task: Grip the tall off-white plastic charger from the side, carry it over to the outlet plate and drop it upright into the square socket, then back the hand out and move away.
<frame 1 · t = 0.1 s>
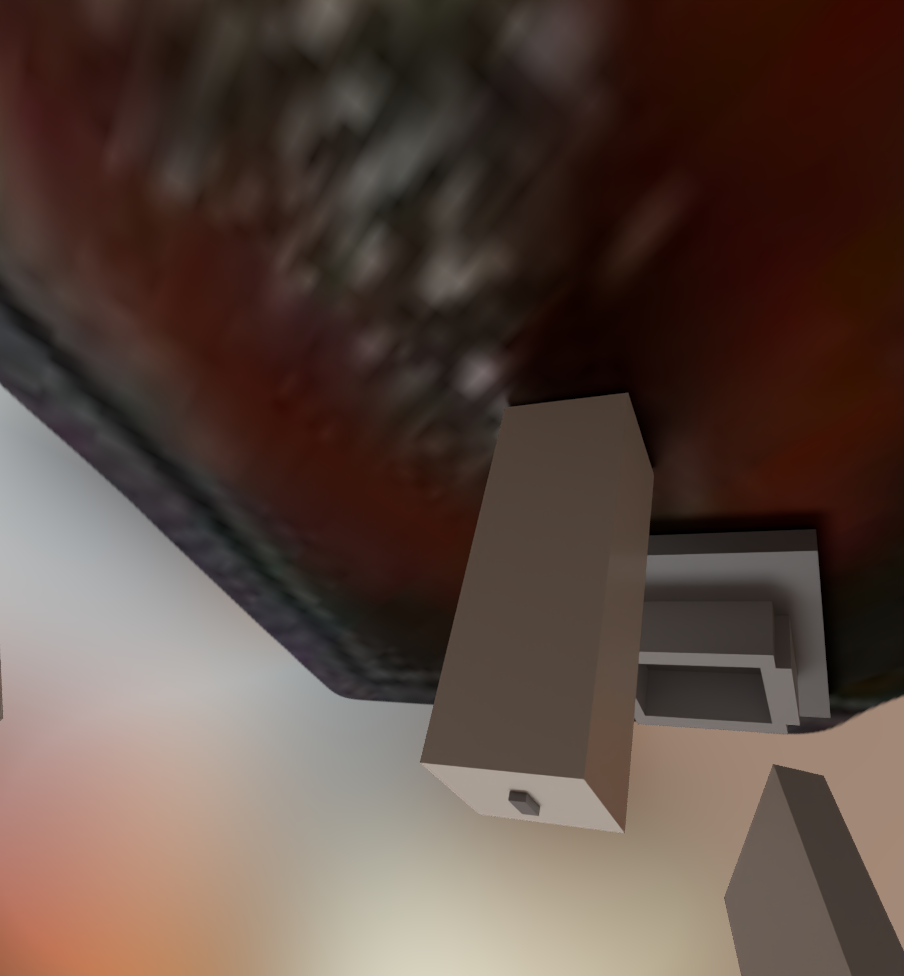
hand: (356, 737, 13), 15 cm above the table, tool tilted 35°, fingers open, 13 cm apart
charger: (581, 441, 28), on the table
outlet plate: (699, 626, 37), on the table
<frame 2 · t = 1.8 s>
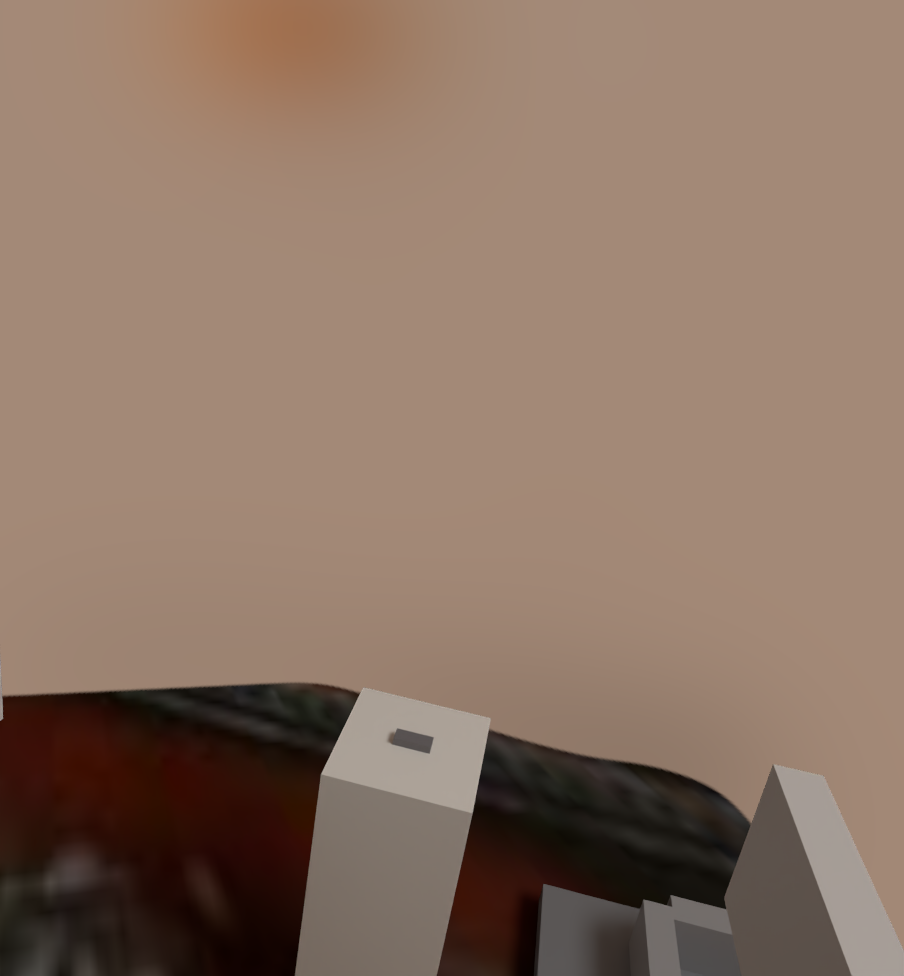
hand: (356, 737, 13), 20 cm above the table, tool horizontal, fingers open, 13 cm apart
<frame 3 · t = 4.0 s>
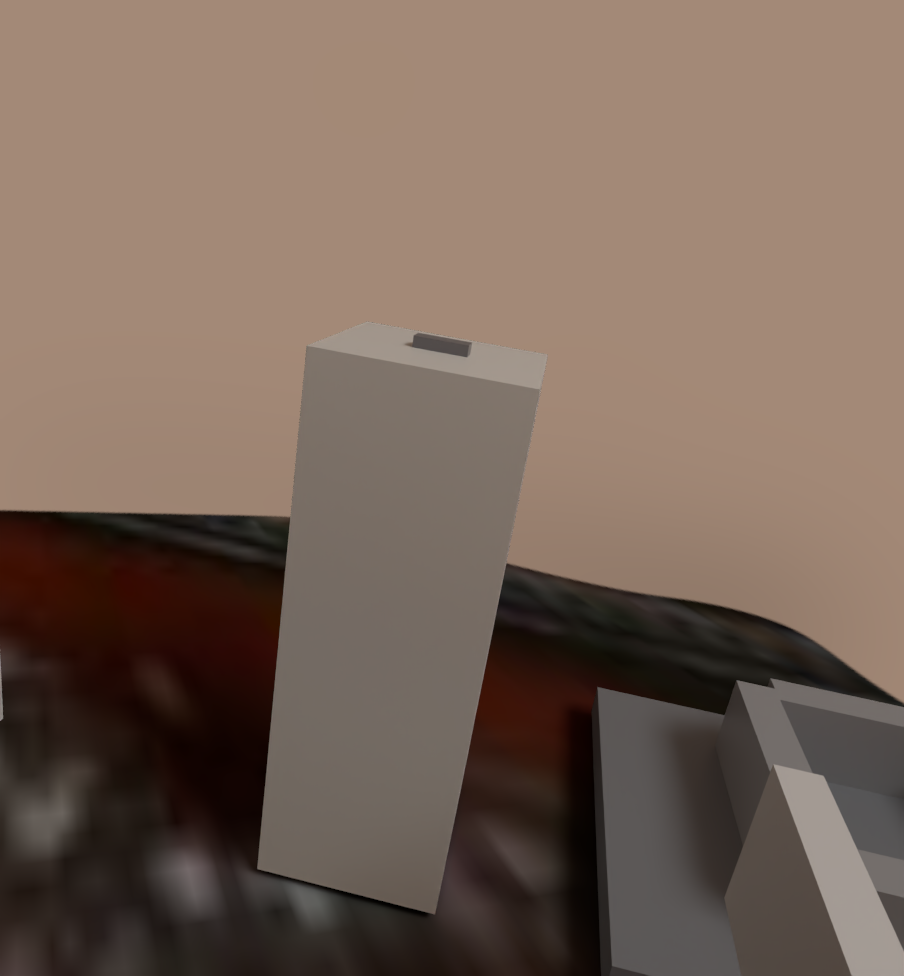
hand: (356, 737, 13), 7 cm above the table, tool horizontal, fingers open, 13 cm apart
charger: (368, 824, 21), on the table
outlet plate: (878, 888, 21), on the table
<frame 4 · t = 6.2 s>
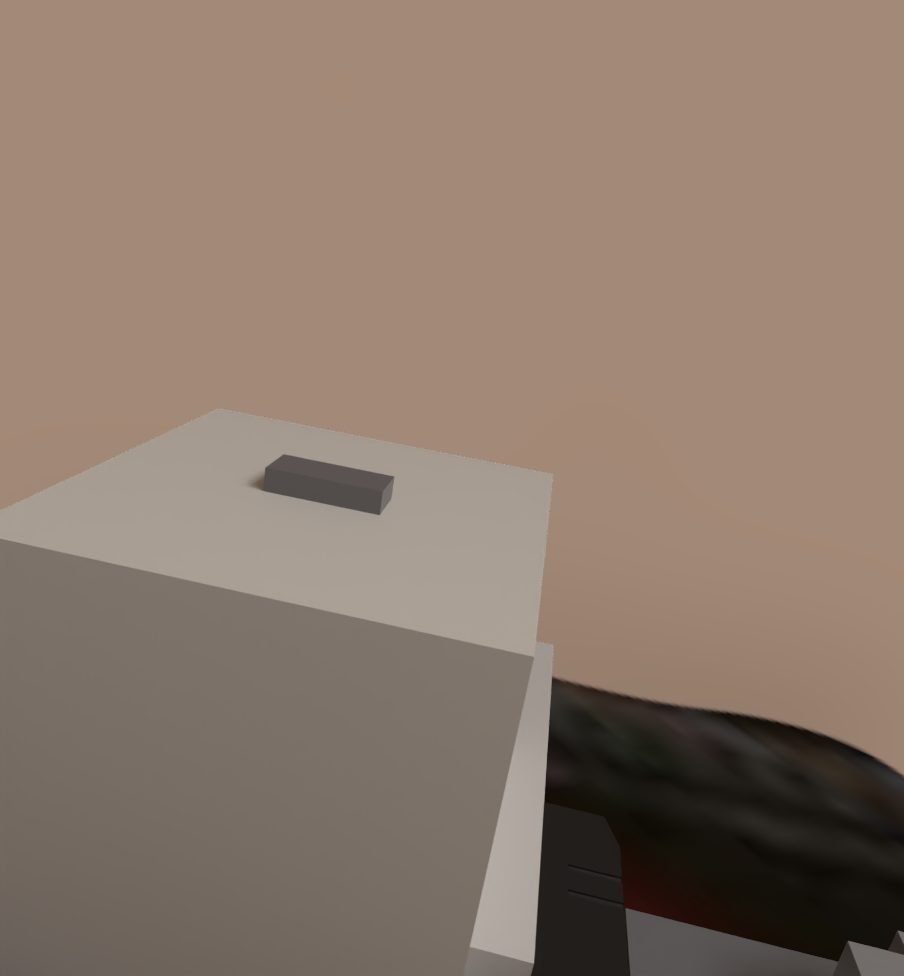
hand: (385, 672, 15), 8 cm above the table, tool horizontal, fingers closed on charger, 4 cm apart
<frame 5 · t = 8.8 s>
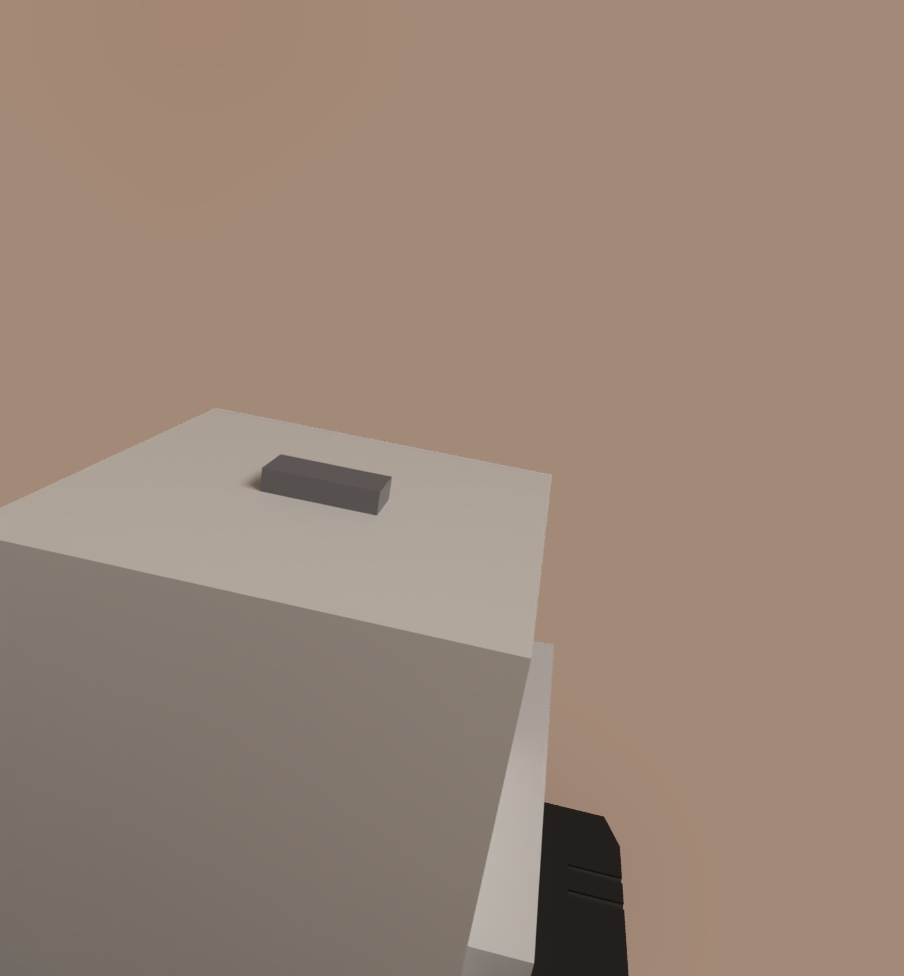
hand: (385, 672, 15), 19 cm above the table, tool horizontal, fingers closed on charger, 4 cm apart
when the fingers open (10 cm above the table, at t = 11.3 s): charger drops 1 cm, resting on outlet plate.
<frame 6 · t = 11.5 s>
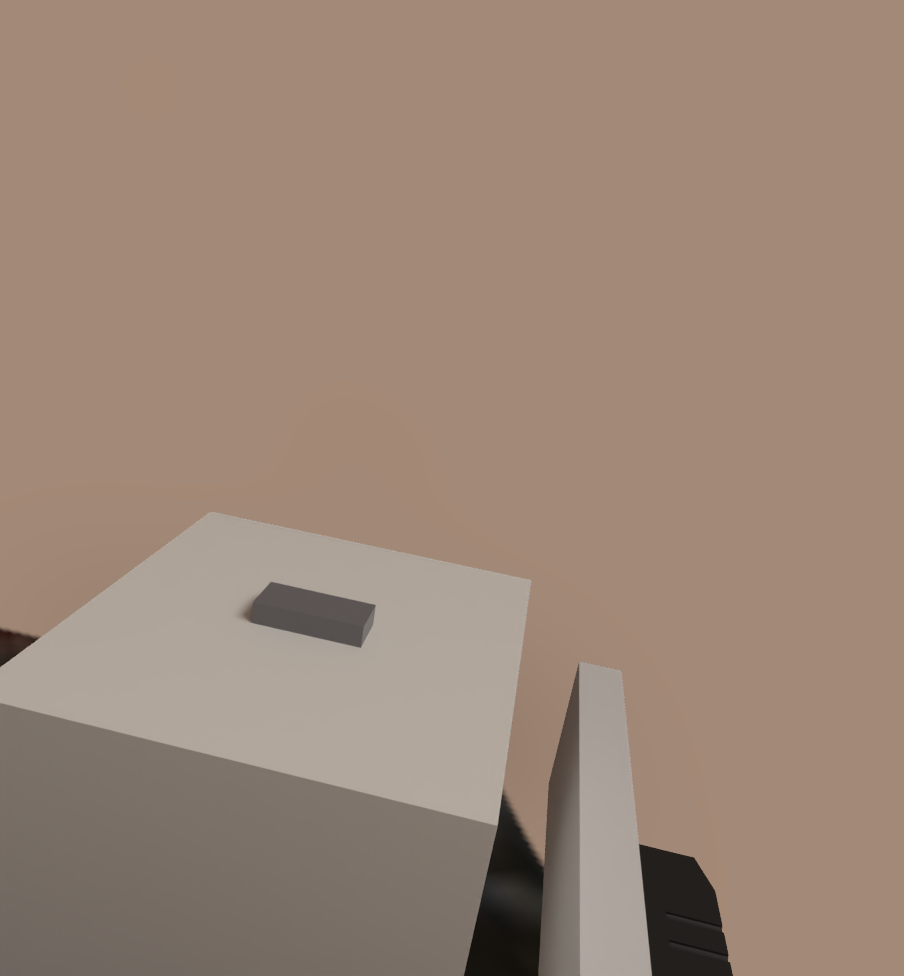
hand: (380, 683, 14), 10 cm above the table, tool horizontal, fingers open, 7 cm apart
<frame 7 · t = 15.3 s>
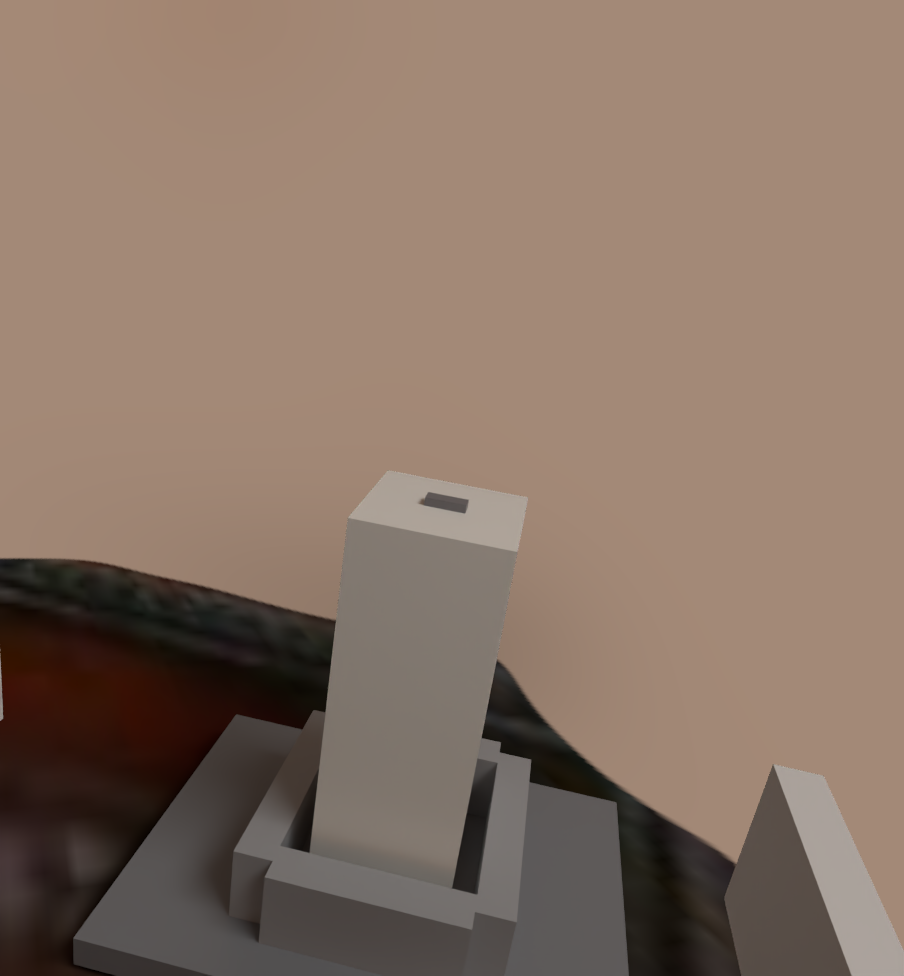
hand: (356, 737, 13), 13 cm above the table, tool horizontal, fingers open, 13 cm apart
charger: (389, 860, 26), point 1 cm above the table, touching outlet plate
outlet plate: (386, 881, 26), on the table
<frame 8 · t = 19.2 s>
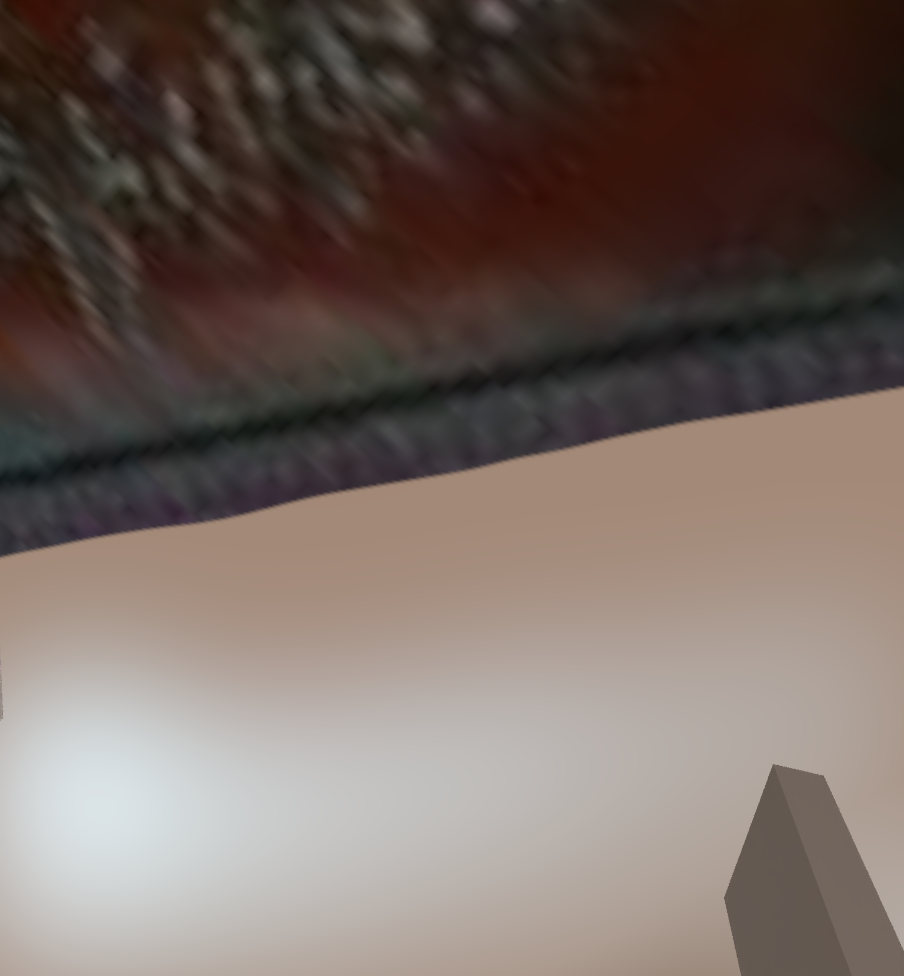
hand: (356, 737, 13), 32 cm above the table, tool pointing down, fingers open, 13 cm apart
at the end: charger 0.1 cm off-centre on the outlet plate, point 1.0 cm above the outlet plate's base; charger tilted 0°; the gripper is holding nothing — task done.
